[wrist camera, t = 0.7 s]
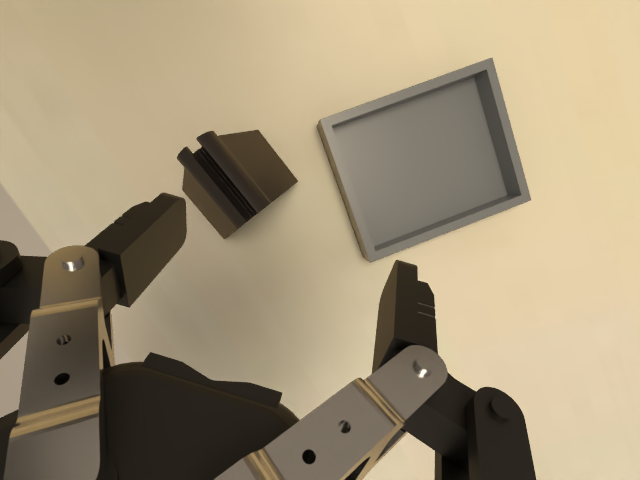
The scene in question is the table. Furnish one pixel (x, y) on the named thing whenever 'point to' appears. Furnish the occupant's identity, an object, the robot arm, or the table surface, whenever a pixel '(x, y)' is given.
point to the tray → (425, 160)
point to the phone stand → (233, 177)
